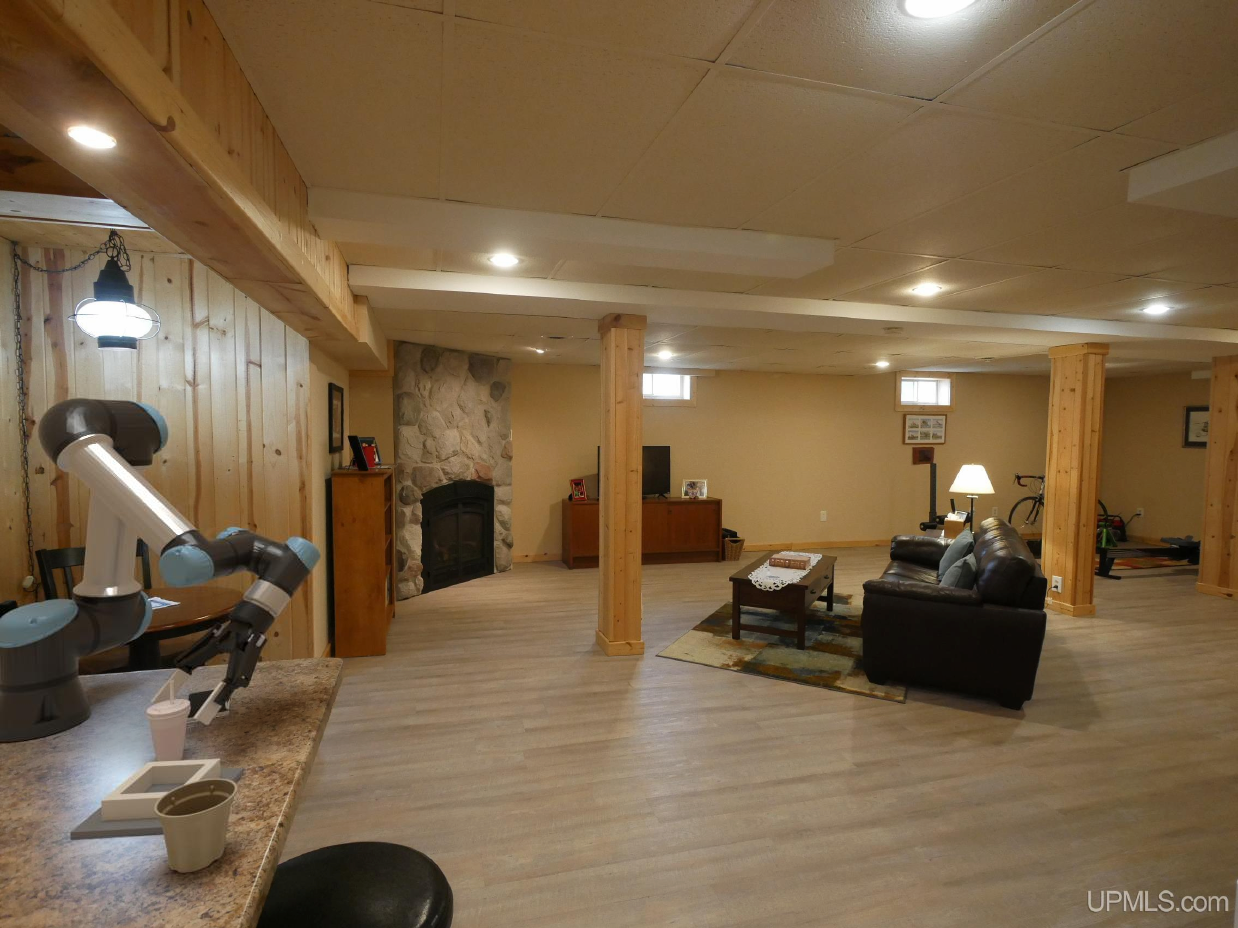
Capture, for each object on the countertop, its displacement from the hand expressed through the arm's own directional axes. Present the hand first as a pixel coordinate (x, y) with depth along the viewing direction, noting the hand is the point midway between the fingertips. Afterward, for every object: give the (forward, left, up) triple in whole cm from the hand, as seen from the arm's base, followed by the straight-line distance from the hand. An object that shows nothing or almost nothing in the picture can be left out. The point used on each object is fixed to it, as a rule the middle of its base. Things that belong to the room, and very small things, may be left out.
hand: (178, 713), depth 112 cm
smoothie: (0, -1, -8) cm, 8 cm away
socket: (+14, +6, -8) cm, 17 cm away
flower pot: (+28, +18, -8) cm, 34 cm away
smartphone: (-23, -6, -9) cm, 25 cm away
